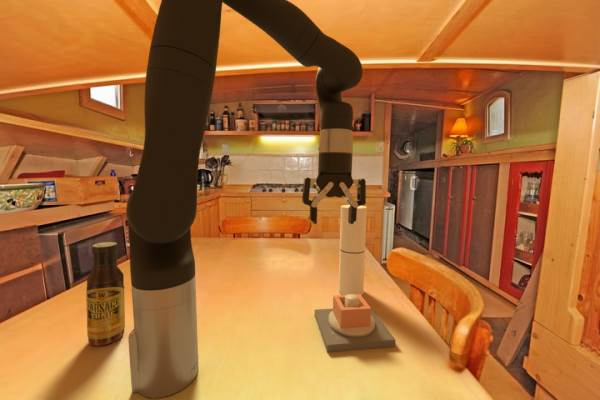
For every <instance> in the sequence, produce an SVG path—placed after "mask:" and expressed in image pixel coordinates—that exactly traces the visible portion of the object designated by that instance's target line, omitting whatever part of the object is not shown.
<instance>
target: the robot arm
mask: <svg viewBox="0 0 600 400" xmlns="http://www.w3.org/2000/svg"><path fill="white" fill-rule="evenodd" d="M223 4H224V5H226V6H228V8H230V9H232V10H233V11H235V12H236V13H238V14H239V15H241V16H242V17H243V18H245V20H248V21H249V22H251V23H252V24H254V26H256V27H257V28H259V29H260V30H262V31H263V32H264V33H265V34H266V35H268V36H269V37H270V38H272V39H273V40H274V41H275V42H276V43H277V44H278V45H279V46H280V47H281V48H282V49H284V51H286V52H287V53H288V54H289V55H290V56H291V57H292V58H293V59H294V60H296V61H297V62H298V63H299V64H300V65H302V66H303V67H305V68H310V67H318V69H317V72H316V75H315V91H316V95H317V100H318V105H319V108H320V132H319V133H320V135H319V139H318V140H319V141H318V148H317V150H318V163H317V177H316V178H312V177H307V176H306V177H304V178H303V185H302V186H303V187H302V197H301V202H302V204H304V205H306V206H308V207H309V219H310V221H311V222H312V224H314V225H317V223H318V207H317V206H318V205H319V203H320V202H321V201H322V200H323V199H324V198H325V197H326V198H335V197H336V198H342V197H343V198H344V200H346V202H347V203H348V205H350V207H349V212H348V223H349V224H354V222H355V221H356V217H357V207H358V206H365V205H366V203H367V201H366V200H367V198H366V197H367V196H366V195H367V192H366V191H367V190H366V189H367V188H366V187H367V186H366V185H367V184H366V183H367V181H366V179H365V178H356V179H353V176H352V174H353V155H354V154H353V150H354V149H353V148H354V137H353V128H354V127H353V124H354V109H353V108H354V107H353V106H352V105H351V104H350V103H349V102H346V101H343V100H342V93H344V92H345V91H348V90H351V89H354V88H355V87H357V86H358V85H359V83H361V81H362V78H363V75H364V74H363V73H364V71H363V65H362V63H361V60H360V59H359V58H360V57H358V56H357V54H356V53H355V52H354V51H353V50H351V49H350V48H348V47H347V46H346V45H344V44H342V43H340V42H339V41H337V40H336V39H334V38H333V37H331V36H328V35H327V34H325V33H324V32H323V31H322V30H321V28H320V27H318V25H317V24H316V23H314V21H313V20H312V19H311V18H310V16H308V14H307V13H305V11H303V10H302V9H301V8H299V7H298V6H297V5H296V4H295V3H292V2H291V1H289V0H161V1H160V5H159V8H158V12H157V16H156V20H155V22H154V23H155V24H154V27H153V28H154V29H153V33H152V37H151V42H150V46H149V51H148V52H149V53H148V60H147V64H146V73H145V84H144V87H145V88H144V103H143V104H144V105H143V106H144V109H143V110H144V111H143V112H144V142H143V148H142V149H143V150H142V155H141V159H140V162H139V168H138V171H137V175H136V178H135V181H134V186H133V189H132V190H131V193H130V194H129V197H128V199H127V203H126V209H125V213H126V215H125V216H126V219H127V226H128V227H127V228H128V241H129V271H130V284H131V298H132V301H131V303H132V313H133V314H132V317H133V329H132V330H131V332H130V333H128V338H127V339H128V352H129V367H130V370H129V371H130V385H131V392H132V393H139V394H140V395H142V396H145V397H147V398H153V399H157V398H158V399H159V398H164V397H167V396H168V397H169V396H171V395H173V394H176V393H179V392H180V391H182V390H183V389H185V388H186V387H188V386H189V384H191V383H192V382H193V381H194V380H195V379H196V376H197V374H198V372H199V349H198V348H199V346H198V345H199V342H198V339H199V338H198V315H197V314H198V313H197V311H198V310H197V307H198V306H197V290H196V289H197V283H196V282H197V280H196V279H197V278H196V260H195V254H194V249H193V245H192V244H193V243H192V233H191V230H192V229H191V227H192V226H193V224H194V223H195V220H196V216H197V211H198V207H197V205H198V181H199V179H198V178H199V163H200V155H201V154H200V151H201V147H202V143H203V139H204V137H205V136H204V135H205V131H206V128H207V122H208V118H209V111H210V108H211V101H212V98H213V92H214V86H215V85H214V84H215V79H216V78H215V77H216V71H217V62H218V54H219V45H220V36H221V35H220V34H221V25H222V23H221V22H222V21H221V20H222V11H223V10H222V9H223ZM315 184H316V186H317V187H318V189H319V190H318V191H317V192H316V193H315V195H314V197H312V199H310V192H311V191H310V190H311V188H313V187H314V185H315ZM353 185H354V188H356V199H355V198H354V196H353V194H352V193H351V191H350V189H351V187H352V186H353Z"/></svg>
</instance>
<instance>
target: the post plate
mask: <svg viewBox="0 0 600 400" xmlns="http://www.w3.org/2000/svg"><path fill="white" fill-rule="evenodd" d="M345 307H359V297H358V296H357V295H354V294H348V295H346V296H345ZM370 308H371V321H370V326H369V327H355V328H340V326H339V324H338V322H337V320H336V318H335V316H334V313H333V308H318V309H314V319H315V321H316V325H317V327H318V330H319V333H320V336H321V338H322V342H323V344H324V345H323V346H324V348H325V350H326V353H333V352H342V351H343V352H344V351H345V352H346V351H357V350H358V351H359V350H368V349H370V350H372V349H381V348H382V349H383V348H394V347H396V338H395V337H394V336H393V334H392V333H391V332H390V330H389V329H388V328H387V327H386V325H385V324H384V322H383V321H382V320H381V319H380V318H379V316H378V315H377V313H376V312H375V311H374V309H373V308H372V307H371V306H370Z"/></svg>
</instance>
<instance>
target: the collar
mask: <svg viewBox="0 0 600 400" xmlns="http://www.w3.org/2000/svg"><path fill="white" fill-rule="evenodd" d="M354 295H357V296H358V297H359V307H345V296H346V295H342V294H337V295H336V294H335V295H333V296H332V298H333V299H332V309H333V313H334V316H335V318H336V320H337V322H338V324H339V326H340V328H355V327H369V326H370V321H371V308H372V307H371V306H370V305H369V304H368V302H367V301H366V300H365V299H364V297H363V296H362V295H360V294H354ZM370 307H371V308H370Z"/></svg>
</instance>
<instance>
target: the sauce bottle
mask: <svg viewBox="0 0 600 400" xmlns="http://www.w3.org/2000/svg"><path fill="white" fill-rule="evenodd" d="M117 252H118V243H117V242H113V241H103V242H98V243H95V244H93V245H92V247H91V253H92V254H93V255H92V256H93V265H92V269H91V271H90V273H89V275H88V276H87V279H86V292H85V297H86V333H87V336H86V337H87V339H88V343H89V345H91V346H95V347H101V346H105V345H106V346H107V345H109V344H112V343H114V342H117V341H118V340H119V339H121V337H122V336H124V334H125V329H126V328H125V327H126V316H125V315H126V314H125V313H126V312H125V311H126V308H125V303H126V302H125V284H124V282H125V281H124V273H123V272H122V270H121V269H120V268H119V266H118V260H117Z"/></svg>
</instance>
